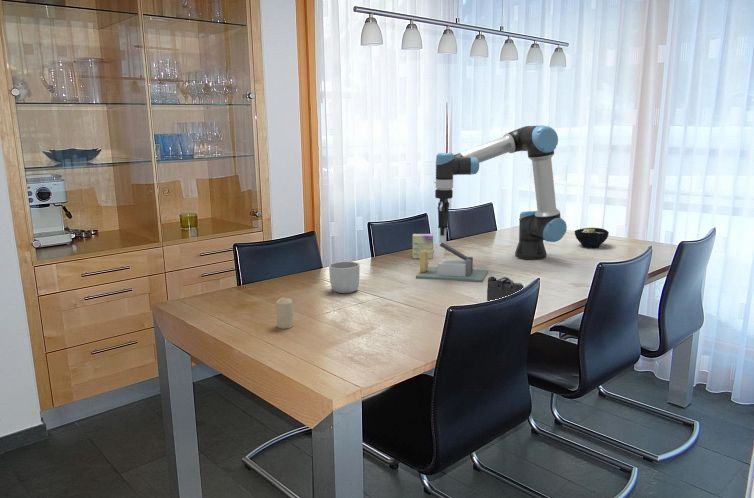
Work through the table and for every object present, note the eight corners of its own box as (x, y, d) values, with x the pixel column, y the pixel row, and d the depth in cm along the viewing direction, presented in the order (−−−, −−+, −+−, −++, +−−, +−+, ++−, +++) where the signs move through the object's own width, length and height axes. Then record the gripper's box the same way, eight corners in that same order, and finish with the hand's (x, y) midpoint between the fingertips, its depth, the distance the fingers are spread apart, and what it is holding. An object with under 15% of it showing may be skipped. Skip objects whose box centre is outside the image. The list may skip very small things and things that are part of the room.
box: (433, 256, 299) (433, 233, 297) (433, 258, 294) (433, 235, 291) (412, 256, 300) (412, 233, 298) (412, 258, 295) (412, 235, 292)
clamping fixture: (488, 272, 264) (488, 254, 263) (482, 282, 247) (482, 263, 246) (425, 268, 273) (425, 251, 272) (415, 278, 257) (415, 260, 255)
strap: (470, 262, 258) (472, 259, 258) (469, 263, 255) (470, 260, 255) (440, 244, 261) (442, 241, 260) (439, 245, 258) (440, 243, 257)
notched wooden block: (434, 270, 265) (434, 250, 263) (431, 272, 261) (431, 252, 259) (422, 269, 267) (422, 249, 265) (420, 272, 262) (419, 252, 260)
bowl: (610, 245, 316) (612, 226, 314) (604, 251, 301) (605, 232, 299) (578, 242, 325) (579, 224, 323) (570, 248, 310) (571, 229, 308)
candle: (278, 323, 201) (276, 295, 199) (294, 323, 201) (292, 295, 199) (276, 329, 196) (274, 300, 194) (293, 328, 196) (291, 299, 194)
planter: (337, 296, 232) (336, 269, 229) (325, 289, 242) (324, 263, 240) (365, 292, 237) (364, 265, 235) (352, 285, 248) (351, 260, 246)
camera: (533, 303, 218) (534, 277, 216) (518, 310, 210) (518, 283, 208) (499, 296, 227) (500, 271, 225) (484, 302, 219) (484, 277, 217)
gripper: (438, 187, 261) (437, 239, 266) (432, 190, 249) (430, 244, 254) (455, 187, 259) (453, 240, 264) (449, 190, 247) (447, 245, 252)
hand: (442, 242), depth 259 cm, fingers closed
